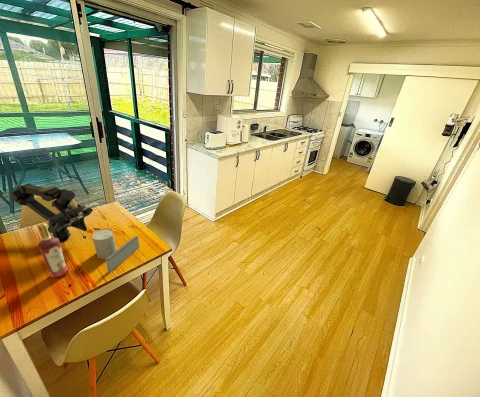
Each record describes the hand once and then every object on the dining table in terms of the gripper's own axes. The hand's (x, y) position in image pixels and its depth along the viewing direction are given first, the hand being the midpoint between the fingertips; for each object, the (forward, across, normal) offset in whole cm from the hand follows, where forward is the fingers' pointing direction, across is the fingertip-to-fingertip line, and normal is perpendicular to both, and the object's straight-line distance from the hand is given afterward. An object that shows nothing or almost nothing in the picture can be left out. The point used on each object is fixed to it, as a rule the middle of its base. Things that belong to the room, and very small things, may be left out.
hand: (86, 230), depth 120 cm
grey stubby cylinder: (+16, 0, 0) cm, 16 cm away
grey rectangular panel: (+24, 0, -8) cm, 26 cm away
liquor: (+11, -20, +6) cm, 23 cm away
